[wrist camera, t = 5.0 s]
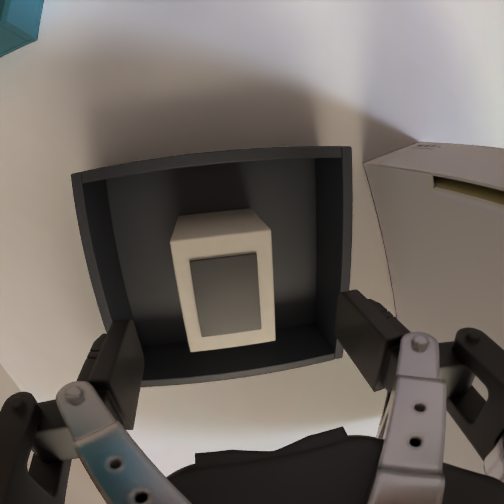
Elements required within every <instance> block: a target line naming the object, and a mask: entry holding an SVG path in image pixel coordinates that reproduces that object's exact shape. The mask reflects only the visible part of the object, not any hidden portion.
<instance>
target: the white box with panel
mask: <svg viewBox="0 0 504 504" xmlns="http://www.w3.org/2000/svg"><path fill="white" fill-rule="evenodd" d="M170 246H171V253H172V259H173V265H174V271H175V277H176V283H177V289H178V294H179V300H180V305H181V310H182V315H183V320H184V325H185V330H186V335H187V339H188V344H189V348H190V351H191V352H197V351H206V350H214V349H222V348H230V347H237V346H244V345H251V344H258V343H264V342H270V341H275V339H276V335H275V307H274V282H273V259H272V238H271V230H270V228H269V227H268V226H267V225H266V224H265V223H264V222H263V221H262V220H261V219H260V218H259V217H258V216H257V215H256V214H255V212H254V211H253V210H252V209H250V208H248V209H238V210H228V211H219V212H209V213H201V214H192V215H184V216H179V217H178V219H177V222H176V225H175V228H174V231H173V234H172V237H171V240H170Z"/></svg>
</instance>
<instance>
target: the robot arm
mask: <svg viewBox="0 0 504 504" xmlns="http://www.w3.org/2000/svg"><path fill="white" fill-rule="evenodd" d="M335 333H336V337H337V339H338V341H339V342H340V344H341V345H342V347H343V348H344V349H345V351H346V352H347V354H348V355H349V357H350V358H351V359H352V361H353V362H354V364H355V365H356V367H357V368H358V369H359V371H360V372H361V374H362V375H363V377H364V378H365V379H366V381H367V382H368V384H369V385H370V387H371V388H372V390H373V391H374V392H376V391H379V390H382V389H384V388H386V390H387V391H388V392H387V395H386V398H385V403H384V407H383V411H382V416H381V420H380V424H379V428H378V431H377V435H376V437H370V436H362V435H348V436H347V434H346V432H345V430H344V428H343V427H339V428H336V429H332V430H329V431H325V432H321V433H318V434H314V435H310V436H307V437H305V438H303V439H301V440H299V441H296V442H294V443H292V444H290V445H287V446H285V447H283V448H280V449H278V450H275V451H243V450H226V451H217V452H207V453H195V464H192V465H189V466H186V467H184V468H181V469H179V470H177V471H175V472H174V473H172V474H171V475H169V476H168V477H165V476H164V475H163V474H162V473H161V472H160V471H159V469H158V468H157V467H156V466H155V465H154V464H153V463H152V462H151V460H150V459H149V458H148V457H147V456H146V455H145V453H144V452H143V451H142V450H141V449H140V447H139V446H138V445H137V444H136V443H135V441H134V440H133V439H132V438H131V436H130V435H129V434H128V432H127V431H126V430H133V427H134V421H135V415H136V409H137V403H138V398H139V392H140V387H141V381H142V376H143V371H144V355H143V351H142V348H141V345H140V341H139V338H138V335H137V331H136V328H135V325H134V322H133V321H132V320H131V319H129V320H117V321H113V322H112V324H111V326H110V328H109V330H108V333H107V334H102V335H101V336H100V337H99V338H98V339H97V340H96V341H94V343H93V345H92V348H91V350H90V352H89V354H88V356H87V359H86V361H85V363H84V365H83V367H82V370H81V372H80V374H79V376H78V379H77V381H75V382H71V383H69V384H67V385H65V386H64V387H62V388H61V389H60V390H59V392H58V393H57V396H56V399H55V400H51V401H46V402H40V403H37V401H36V400H35V398H34V396H33V395H32V394H30V393H28V392H19V393H16V394H14V395H12V396H10V397H9V398H8V399H7V400H6V401H5V403H4V405H3V407H2V409H1V411H0V504H64V503H65V496H66V495H65V494H66V489H67V483H68V476H69V471H70V466H71V460H72V459H76V458H80V460H81V462H82V464H83V466H84V467H85V469H86V471H87V473H88V474H89V476H90V478H91V479H92V481H93V483H94V484H95V486H96V488H97V489H98V491H99V492H100V494H101V495H102V497H103V498H104V500H105V501H106V503H107V504H504V350H503V349H502V348H501V347H500V346H499V345H498V344H496V343H495V342H494V341H493V340H492V339H491V338H490V337H488V336H487V335H486V334H485V333H484V332H482V331H480V330H478V329H475V328H470V327H466V328H462V329H460V330H458V331H457V333H456V336H455V339H454V341H451V342H442V343H438V341H437V340H436V339H435V338H434V337H433V336H431V335H429V334H427V333H424V332H410V331H409V330H408V329H407V328H406V327H405V326H404V325H403V324H402V323H401V322H400V321H398V320H397V319H396V318H395V317H393V315H392V314H391V313H390V312H389V311H388V312H387V309H385V308H384V307H383V306H382V305H381V304H380V303H378V302H375V301H373V300H371V299H367V298H366V297H364V296H363V295H362V294H361V293H360V292H359V291H358V290H351V291H345V292H340V293H338V295H337V303H336V317H335ZM475 376H477V378H478V379H479V380H480V381H481V382H482V383H483V384H484V385H485V386H486V388H487V390H488V399H487V401H486V400H485V399H484V398H483V397H482V396H481V395H480V394H479V392H478V391H477V390H476V389H475V388H474V387H473V386H472V383H473V380H474V378H475ZM446 410H447V412H448V413H449V414H450V416H451V417H452V418H453V420H454V421H455V422H456V424H457V425H458V426H459V428H460V429H461V431H462V432H463V433H464V435H465V436H466V438H467V439H468V440H469V442H470V443H471V445H472V446H473V447H474V449H475V450H476V452H477V453H478V455H479V456H480V457H481V459H482V460H483V462H484V464H483V468H484V472H485V473H484V474H481V473H477V472H473V471H470V470H466V469H463V468H460V467H457V466H453V465H450V464H447V463H444V462H443V457H444V446H445V431H446ZM31 450H32V451H33V452H34V454H33V458H32V461H31V465H30V468H29V472H28V470H27V462H28V458H29V455H30V452H31Z"/></svg>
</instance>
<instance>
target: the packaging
mask: <svg viewBox="0 0 504 504" xmlns="http://www.w3.org/2000/svg"><path fill="white" fill-rule="evenodd" d="M363 166H364V167H365V171H366V174H367V178H368V181H369V185H370V188H371V192H372V196H373V199H374V203H375V207H376V211H377V215H378V219H379V223H380V228H381V232H382V236H383V241H384V246H385V250H386V255H387V260H388V266H389V271H390V276H391V282H392V288H393V294H394V301H395V307H396V315H397V320H398V321H400V322H401V323H402V324H403V325H404V326H405V327H406V328H407V329H408V330H409V331H410V332H424V333H427V334H429V335H431V336H433V337H434V338H435V339H436V340H437V341H438V343H442V342H451V341H454V339H455V336H456V333H457V331H458V330H460V329H462V328H466V327H470V328H475V329H478V330H480V331H482V332H484V333H485V334H486V335H487V336H488V337H490V338H491V339H492V340H493V341H494V342H495V343H496V344H498V345H499V346H500V347H501V348H502V349H503V350H504V149H502V148H494V147H485V146H475V145H464V144H450V143H432V142H419V143H416V144H413V145H410V146H408V147H405V148H402V149H399V150H397V151H394V152H391V153H389V154H386V155H383V156H381V157H378V158H375V159H373V160H370V161H368V162H365V163H363ZM472 386H473V387H474V388H475V389H476V390H477V391H478V392H479V394H480V395H481V396H482V397H483V398H484V399H485V400H486V401H487V399H488V390H487V388H486V386H485V385H484V384H483V383H482V382H481V381H480V380H479V379H478V378H477V376H475V378H474V380H473V383H472ZM443 462H444V463H447V464H450V465H453V466H457V467H460V468H463V469H466V470H470V471H473V472H477V473H481V474H484V473H485V472H484V468H483V464H484V462H483V460H482V459H481V457H480V456H479V455H478V453H477V452H476V450H475V449H474V447H473V446H472V445H471V443H470V442H469V440H468V439H467V438H466V436H465V435H464V433H463V432H462V431H461V429H460V428H459V426H458V425H457V424H456V422H455V421H454V420H453V418H452V417H451V416H450V414H449V413H448V412H447V410H446V431H445V446H444V457H443Z"/></svg>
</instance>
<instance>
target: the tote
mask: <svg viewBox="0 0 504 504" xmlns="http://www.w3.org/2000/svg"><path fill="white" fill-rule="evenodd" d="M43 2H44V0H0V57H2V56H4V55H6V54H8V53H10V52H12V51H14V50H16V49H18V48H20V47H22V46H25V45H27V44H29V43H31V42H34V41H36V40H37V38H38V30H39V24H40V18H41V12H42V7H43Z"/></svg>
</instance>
